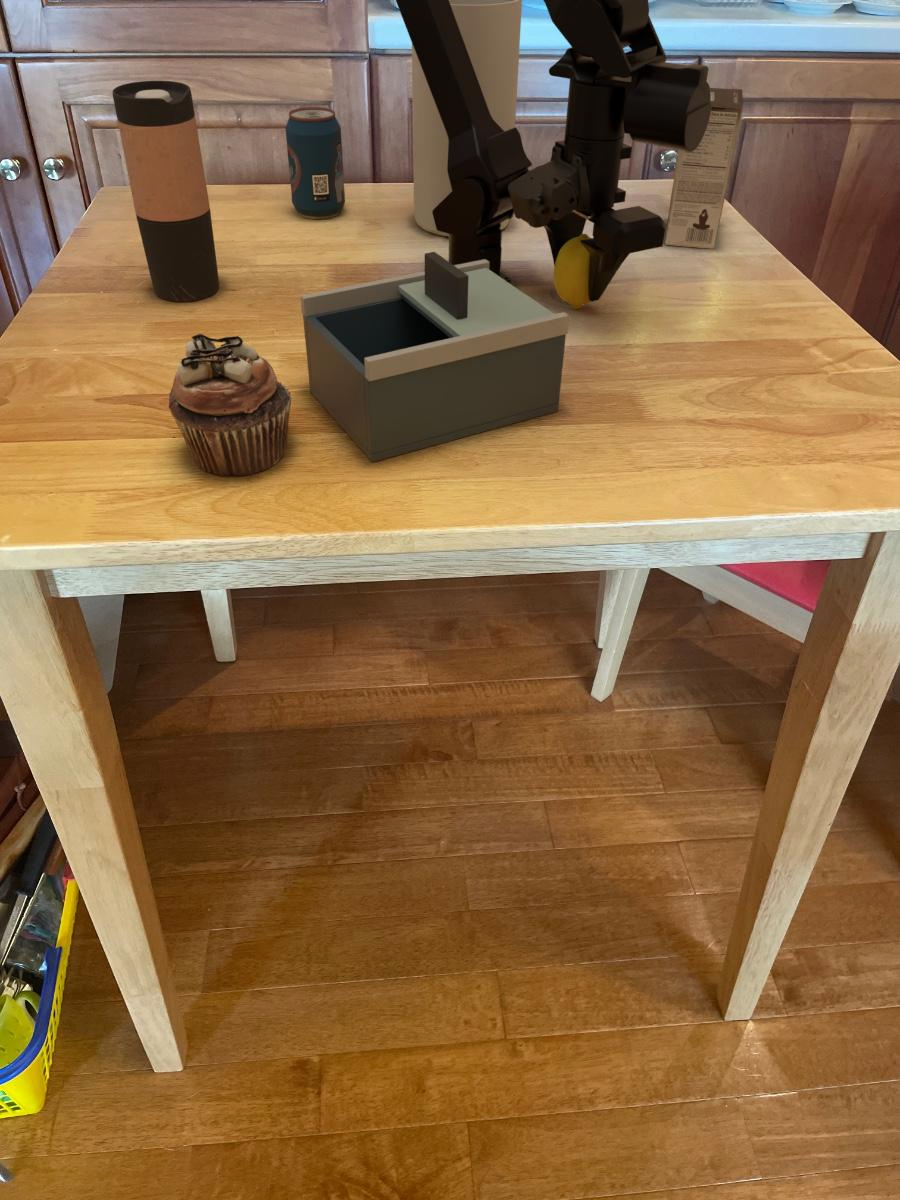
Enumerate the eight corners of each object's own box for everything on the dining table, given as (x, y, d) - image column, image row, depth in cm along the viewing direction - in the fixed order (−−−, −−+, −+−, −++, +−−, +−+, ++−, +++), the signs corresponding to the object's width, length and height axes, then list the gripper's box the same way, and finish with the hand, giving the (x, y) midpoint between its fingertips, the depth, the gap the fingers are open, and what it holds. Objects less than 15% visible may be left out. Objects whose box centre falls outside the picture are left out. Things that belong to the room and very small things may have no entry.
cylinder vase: (511, 240, 116) (524, 6, 99) (411, 239, 116) (408, 4, 99) (508, 207, 125) (519, -12, 109) (416, 205, 125) (413, -14, 109)
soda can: (290, 205, 125) (281, 106, 117) (341, 201, 126) (335, 104, 118) (296, 222, 120) (287, 121, 112) (349, 218, 121) (343, 118, 113)
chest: (309, 391, 86) (300, 295, 80) (481, 350, 93) (485, 258, 87) (373, 463, 77) (368, 361, 71) (559, 412, 84) (569, 315, 78)
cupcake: (301, 476, 75) (289, 362, 69) (179, 488, 74) (155, 374, 67) (291, 417, 82) (279, 309, 76) (180, 427, 81) (158, 318, 74)
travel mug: (157, 276, 106) (118, 80, 93) (225, 275, 106) (196, 79, 93) (146, 304, 100) (103, 99, 87) (218, 302, 101) (186, 98, 87)
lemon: (606, 302, 102) (615, 228, 97) (595, 322, 98) (604, 247, 93) (557, 295, 103) (564, 222, 98) (544, 314, 99) (551, 239, 94)
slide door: (398, 291, 83) (396, 244, 80) (486, 273, 86) (488, 228, 84) (461, 343, 75) (462, 293, 73) (555, 321, 79) (559, 272, 76)
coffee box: (665, 221, 122) (688, 84, 112) (715, 225, 121) (742, 88, 111) (663, 245, 115) (687, 103, 105) (716, 250, 114) (745, 107, 104)
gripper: (474, 119, 92) (469, 273, 103) (581, 170, 80) (564, 339, 90) (566, 107, 96) (553, 256, 107) (682, 154, 84) (654, 318, 94)
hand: (577, 290), depth 99 cm, fingers closed on lemon, 5 cm apart
